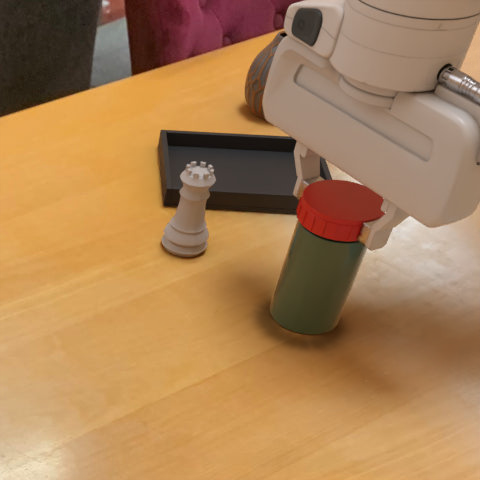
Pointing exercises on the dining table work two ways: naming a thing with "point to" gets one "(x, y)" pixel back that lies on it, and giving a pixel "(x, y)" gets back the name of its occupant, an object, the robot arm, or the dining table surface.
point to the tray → (234, 169)
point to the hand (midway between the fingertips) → (336, 220)
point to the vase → (260, 76)
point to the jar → (315, 282)
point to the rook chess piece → (190, 213)
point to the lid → (338, 209)
